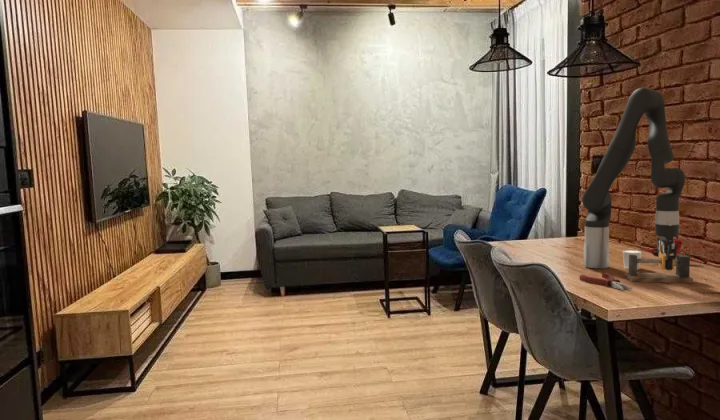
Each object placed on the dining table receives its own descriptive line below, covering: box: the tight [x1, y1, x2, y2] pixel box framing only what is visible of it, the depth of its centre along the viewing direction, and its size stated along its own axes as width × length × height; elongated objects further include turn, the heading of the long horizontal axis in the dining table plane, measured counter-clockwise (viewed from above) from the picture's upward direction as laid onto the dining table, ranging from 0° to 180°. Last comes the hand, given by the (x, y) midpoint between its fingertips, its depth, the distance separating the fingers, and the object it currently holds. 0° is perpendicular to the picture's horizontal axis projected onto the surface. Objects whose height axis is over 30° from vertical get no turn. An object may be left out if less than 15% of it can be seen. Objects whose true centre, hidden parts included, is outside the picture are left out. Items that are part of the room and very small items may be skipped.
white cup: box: [622, 249, 642, 270], centre depth 200 cm, size 7×7×7 cm
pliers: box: [579, 272, 633, 291], centre depth 177 cm, size 12×20×3 cm, turn 9°
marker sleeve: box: [657, 253, 675, 270], centre depth 180 cm, size 4×5×5 cm
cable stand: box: [625, 254, 694, 284], centre depth 181 cm, size 20×8×9 cm, turn 75°
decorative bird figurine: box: [639, 238, 685, 258], centre depth 208 cm, size 3×18×10 cm, turn 83°
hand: (666, 267), depth 180 cm, fingers closed on marker sleeve, 5 cm apart
